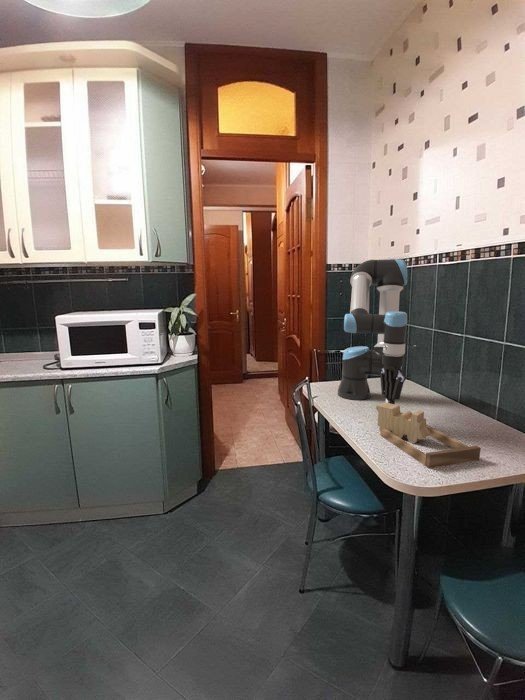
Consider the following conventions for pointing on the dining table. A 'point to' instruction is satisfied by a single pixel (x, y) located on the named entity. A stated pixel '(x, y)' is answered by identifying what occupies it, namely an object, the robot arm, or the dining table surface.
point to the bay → (438, 458)
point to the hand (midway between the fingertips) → (388, 415)
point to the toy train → (402, 422)
